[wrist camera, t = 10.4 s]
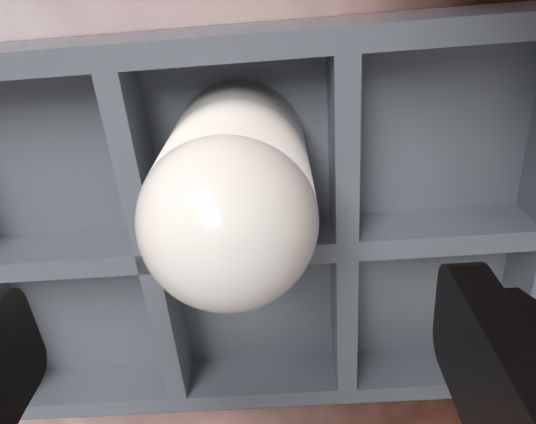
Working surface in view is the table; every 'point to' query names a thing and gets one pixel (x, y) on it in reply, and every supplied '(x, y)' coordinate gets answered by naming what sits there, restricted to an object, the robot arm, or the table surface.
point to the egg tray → (326, 188)
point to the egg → (230, 201)
